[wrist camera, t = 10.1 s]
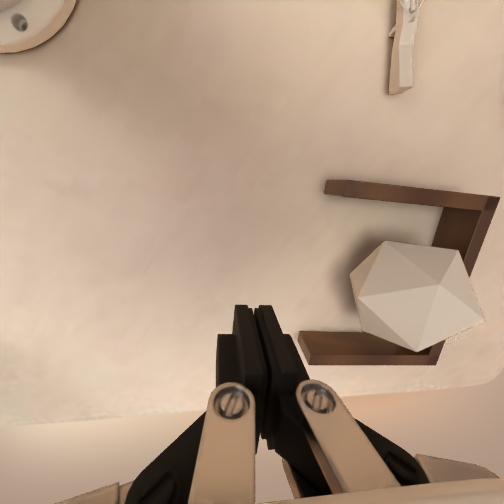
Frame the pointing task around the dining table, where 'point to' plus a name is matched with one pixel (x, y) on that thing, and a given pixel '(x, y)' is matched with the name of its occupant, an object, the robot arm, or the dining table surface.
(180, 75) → the dining table surface
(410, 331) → the die
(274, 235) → the dining table surface
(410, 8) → the crossbow
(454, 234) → the bay
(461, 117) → the dining table surface
